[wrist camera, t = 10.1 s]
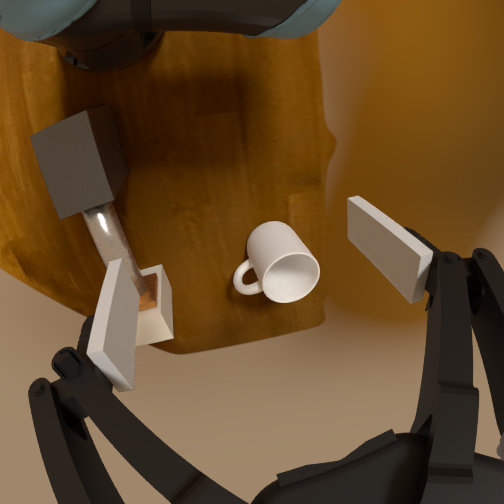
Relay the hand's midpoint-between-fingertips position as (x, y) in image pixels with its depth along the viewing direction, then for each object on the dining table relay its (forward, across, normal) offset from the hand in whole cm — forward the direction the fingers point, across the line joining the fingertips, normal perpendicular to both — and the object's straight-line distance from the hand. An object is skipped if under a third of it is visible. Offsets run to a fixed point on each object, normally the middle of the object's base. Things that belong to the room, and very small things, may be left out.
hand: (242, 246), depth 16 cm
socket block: (+27, -14, -18) cm, 35 cm away
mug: (+27, +5, -18) cm, 33 cm away
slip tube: (+22, -14, -8) cm, 28 cm away
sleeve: (+27, -14, +5) cm, 31 cm away
